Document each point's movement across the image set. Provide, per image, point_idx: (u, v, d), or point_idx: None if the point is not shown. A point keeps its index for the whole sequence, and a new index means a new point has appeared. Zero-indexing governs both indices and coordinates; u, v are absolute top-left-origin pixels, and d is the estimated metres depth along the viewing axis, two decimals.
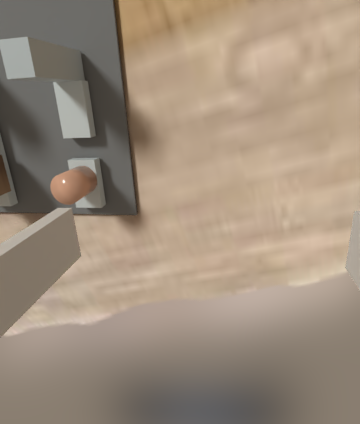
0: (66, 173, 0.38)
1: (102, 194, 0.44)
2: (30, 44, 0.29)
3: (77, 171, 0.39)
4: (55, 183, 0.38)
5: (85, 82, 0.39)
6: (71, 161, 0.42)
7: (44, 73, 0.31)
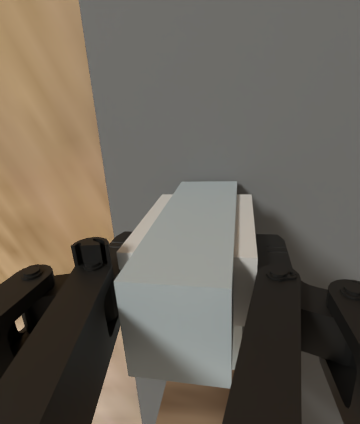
0: None
1: None
2: None
3: None
4: None
5: None
6: None
7: None
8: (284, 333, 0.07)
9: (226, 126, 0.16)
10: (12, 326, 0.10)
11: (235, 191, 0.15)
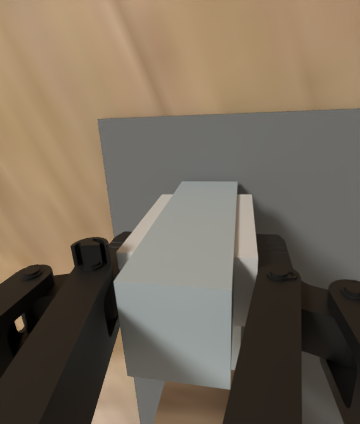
0: None
1: None
2: None
3: None
4: None
5: None
6: None
7: None
8: (284, 333, 0.07)
9: None
10: (12, 326, 0.10)
11: (235, 191, 0.15)
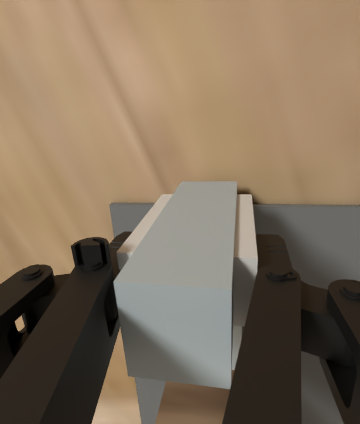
0: None
1: None
2: None
3: None
4: None
5: None
6: None
7: None
8: (284, 333, 0.07)
9: None
10: (13, 326, 0.10)
11: (235, 191, 0.15)
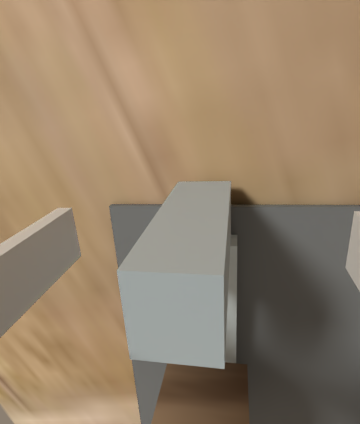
0: None
1: None
2: None
3: None
4: None
5: None
6: None
7: None
8: None
9: None
10: None
11: (229, 190, 0.16)
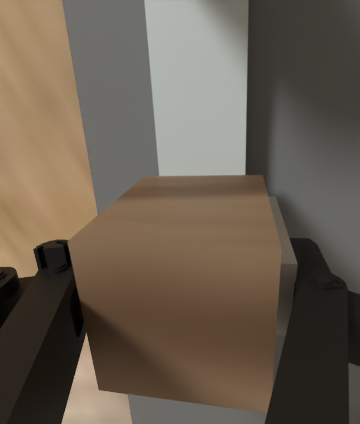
0: None
1: None
2: None
3: None
4: None
5: None
6: None
7: None
8: (329, 345, 0.06)
9: None
10: None
11: None
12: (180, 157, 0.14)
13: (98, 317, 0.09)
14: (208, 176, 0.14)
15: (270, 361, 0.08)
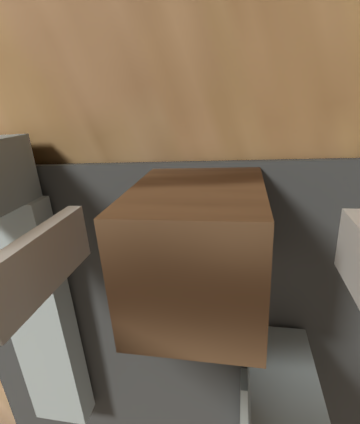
0: None
1: None
2: None
3: None
4: None
5: None
6: None
7: None
8: None
9: None
10: None
11: (1, 138, 0.14)
12: None
13: (118, 285, 0.10)
14: (211, 168, 0.15)
15: (265, 321, 0.10)
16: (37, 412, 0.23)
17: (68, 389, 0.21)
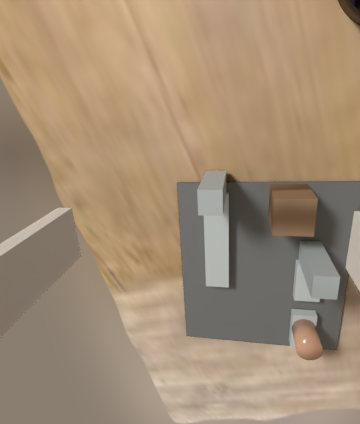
0: (311, 338, 0.48)
1: None
2: (339, 280, 0.39)
3: (313, 332, 0.50)
4: (302, 345, 0.48)
5: None
6: (296, 315, 0.52)
7: None
8: None
9: None
10: None
11: (225, 173, 0.45)
12: (210, 241, 0.50)
13: (277, 215, 0.41)
14: (290, 184, 0.46)
15: (314, 223, 0.41)
16: (207, 283, 0.53)
17: (224, 270, 0.52)
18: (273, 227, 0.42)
